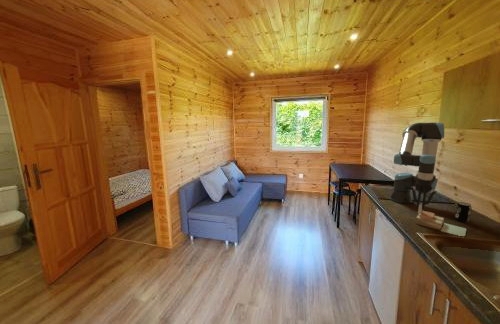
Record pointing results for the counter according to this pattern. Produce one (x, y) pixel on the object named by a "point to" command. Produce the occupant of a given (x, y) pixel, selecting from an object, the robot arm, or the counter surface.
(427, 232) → the counter surface
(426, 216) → the tile
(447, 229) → the mat
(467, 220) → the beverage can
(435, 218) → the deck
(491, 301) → the counter surface
